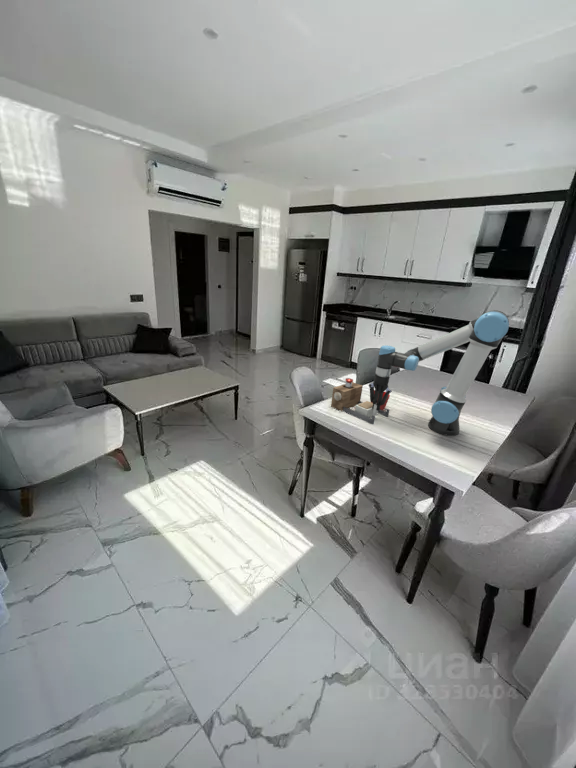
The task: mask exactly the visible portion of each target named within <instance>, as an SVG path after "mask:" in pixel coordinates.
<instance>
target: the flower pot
mask: <svg viewBox="0 0 576 768" xmlns="http://www.w3.org/2000/svg"><path fill="white" fill-rule="evenodd" d="M385 393H386V391H384V393H383V397H384V395H385ZM374 394H375V389H374ZM378 396H379V395H378ZM390 396H391V395H390V394H389V395H388V397H387V400H386V402H385V404H384V405H380V409H381V410H384V411H385V408H386V406H387V404H388V401H389V399H390ZM383 397H382V399H383ZM377 401H378V400H377ZM370 402H371V401H370ZM371 403H373V402H371Z"/></svg>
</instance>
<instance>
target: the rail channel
mask: <svg viewBox="0 0 576 768" xmlns="http://www.w3.org/2000/svg"><path fill="white" fill-rule="evenodd" d="M363 402H364V401H361V400H360V401H358V404H360V403H363ZM342 412H344V413H346V414H348V415H351V416H352V417H356V418H357V419H360V420H362V421H364V422H366V423H368V424H370V425H374V424H375V418H376V415H375V416H374V415H373V416H371V417H367V416H365V415H363V414H360V413H358V412H356V411H355V409H354V410H353V409H351V408H347V407H343V411H342ZM378 414H379V415H381V416H383V417H386V418H389V414H390V409H389V408H386V411H385V409H384V410H381V409H380V410H378V413H377V415H378Z"/></svg>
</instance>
